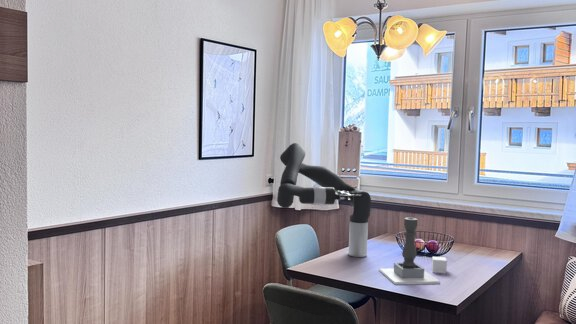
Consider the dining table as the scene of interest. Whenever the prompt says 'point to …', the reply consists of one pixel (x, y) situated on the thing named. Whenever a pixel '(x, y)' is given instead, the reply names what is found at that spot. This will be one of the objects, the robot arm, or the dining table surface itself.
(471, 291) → the dining table surface
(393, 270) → the collar board
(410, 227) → the candle holder
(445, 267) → the white cube
